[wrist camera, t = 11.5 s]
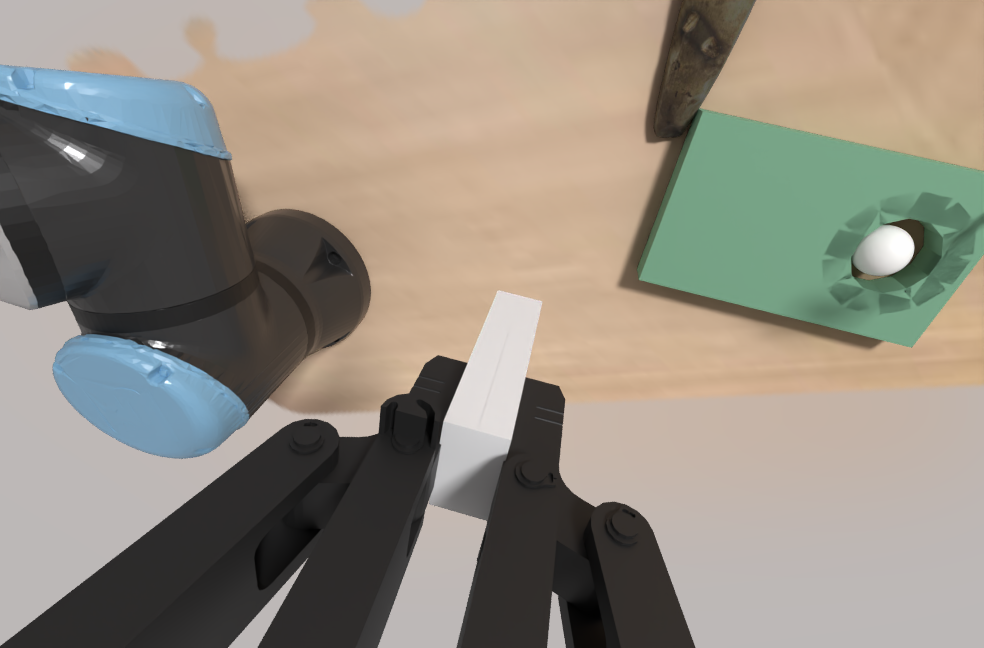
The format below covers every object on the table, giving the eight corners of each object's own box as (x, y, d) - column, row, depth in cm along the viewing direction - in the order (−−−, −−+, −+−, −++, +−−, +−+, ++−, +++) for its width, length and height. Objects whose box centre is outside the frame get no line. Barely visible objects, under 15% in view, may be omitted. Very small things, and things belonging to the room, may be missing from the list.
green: (637, 268, 45) (654, 369, 31) (697, 107, 38) (755, 143, 24) (896, 332, 43) (1039, 469, 29) (1011, 177, 36) (1274, 259, 22)
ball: (829, 263, 40) (879, 286, 37) (857, 216, 38) (912, 237, 35) (854, 261, 42) (903, 283, 39) (882, 216, 40) (936, 236, 37)
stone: (700, -70, 33) (706, -77, 31) (775, -58, 32) (786, -64, 31) (641, 131, 40) (643, 135, 38) (702, 143, 39) (707, 148, 37)
